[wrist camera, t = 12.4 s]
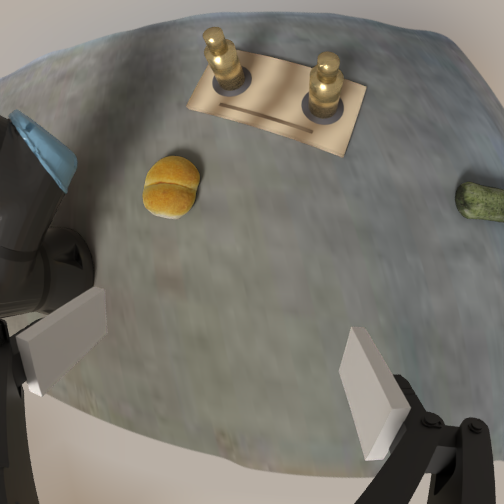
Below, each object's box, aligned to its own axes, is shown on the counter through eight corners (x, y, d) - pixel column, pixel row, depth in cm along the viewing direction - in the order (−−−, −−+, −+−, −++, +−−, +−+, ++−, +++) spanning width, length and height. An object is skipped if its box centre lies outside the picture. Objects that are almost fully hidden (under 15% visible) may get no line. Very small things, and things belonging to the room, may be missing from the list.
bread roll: (206, 161, 43) (197, 153, 39) (192, 223, 43) (182, 219, 39) (155, 156, 44) (144, 148, 40) (142, 214, 44) (128, 210, 40)
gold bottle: (214, 87, 41) (190, 43, 30) (225, 67, 41) (205, 21, 30) (238, 93, 41) (220, 47, 29) (249, 72, 41) (234, 24, 29)
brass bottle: (304, 112, 39) (305, 67, 28) (313, 91, 39) (316, 42, 28) (332, 122, 39) (341, 78, 27) (340, 100, 39) (350, 53, 27)
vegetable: (450, 219, 38) (466, 214, 33) (449, 184, 38) (464, 176, 33) (515, 226, 36) (533, 224, 31) (513, 195, 36) (531, 189, 31)
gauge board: (188, 109, 43) (185, 105, 42) (220, 50, 43) (218, 46, 41) (342, 157, 40) (344, 154, 38) (365, 90, 39) (366, 86, 38)
